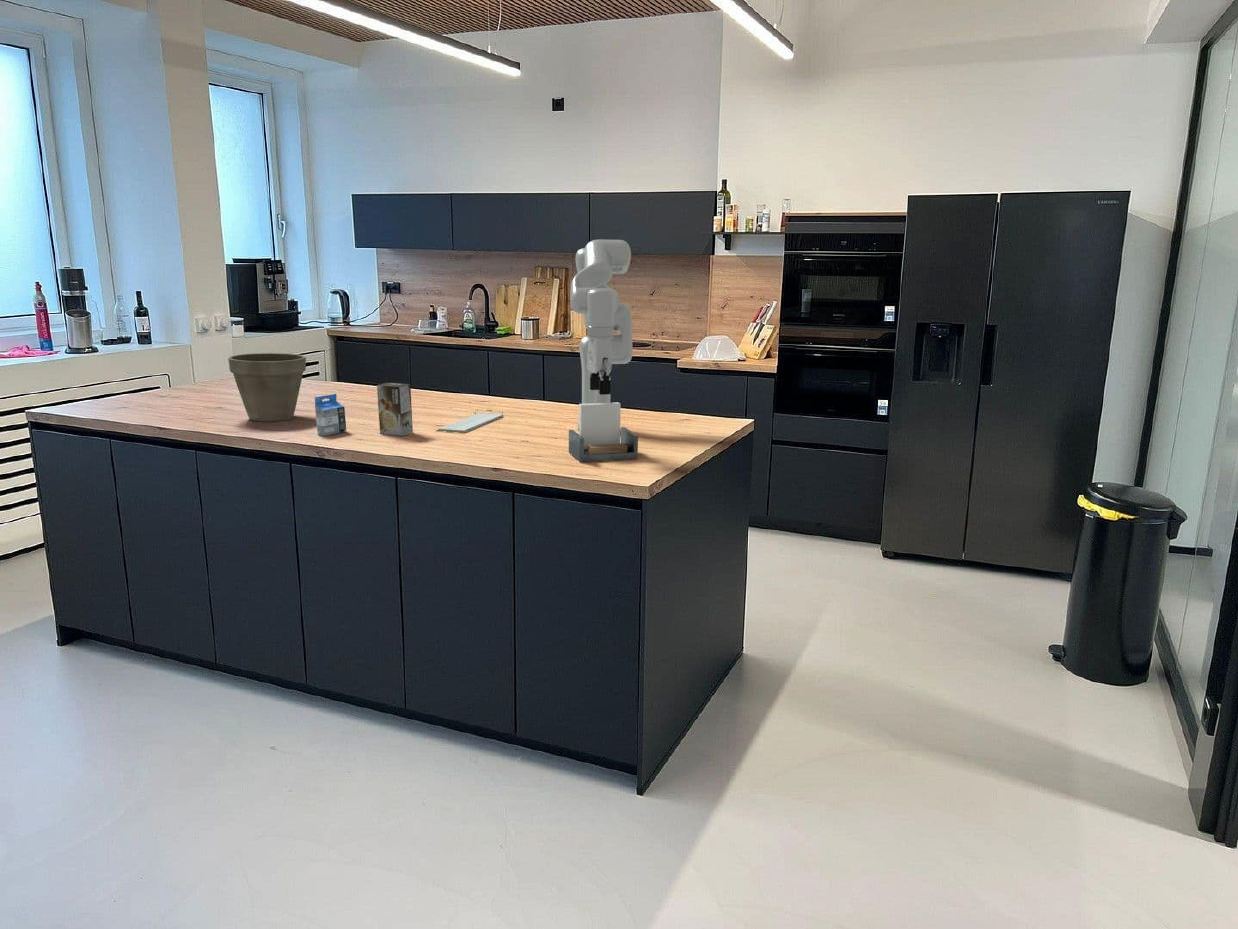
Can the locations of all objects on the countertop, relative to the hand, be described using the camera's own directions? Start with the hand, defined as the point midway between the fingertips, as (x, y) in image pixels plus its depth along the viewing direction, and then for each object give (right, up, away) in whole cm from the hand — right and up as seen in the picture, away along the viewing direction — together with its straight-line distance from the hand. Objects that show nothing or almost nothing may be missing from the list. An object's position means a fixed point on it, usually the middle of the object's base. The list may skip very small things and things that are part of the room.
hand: (599, 392), depth 253 cm
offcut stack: (+1, -20, 0) cm, 20 cm away
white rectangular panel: (0, -18, +5) cm, 19 cm away
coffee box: (-67, -11, +29) cm, 74 cm away
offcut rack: (+1, -19, +2) cm, 19 cm away
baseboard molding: (-46, -8, +47) cm, 66 cm away
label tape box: (-87, -11, +28) cm, 93 cm away
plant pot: (-116, -5, +51) cm, 127 cm away
